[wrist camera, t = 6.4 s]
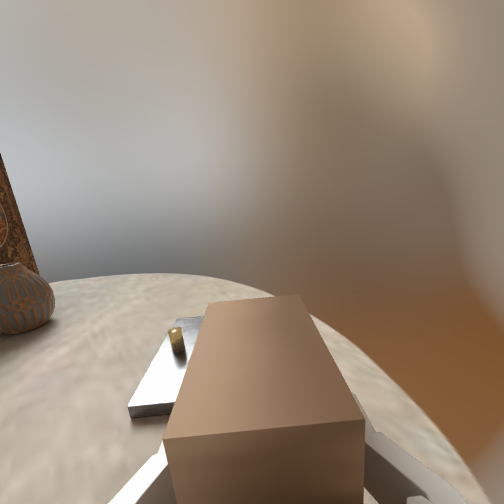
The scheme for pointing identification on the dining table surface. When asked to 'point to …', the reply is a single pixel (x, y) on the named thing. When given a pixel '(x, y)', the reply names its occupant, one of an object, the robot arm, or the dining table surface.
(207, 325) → the board block
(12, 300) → the vase
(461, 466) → the dining table surface
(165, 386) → the pin plate
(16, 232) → the book
